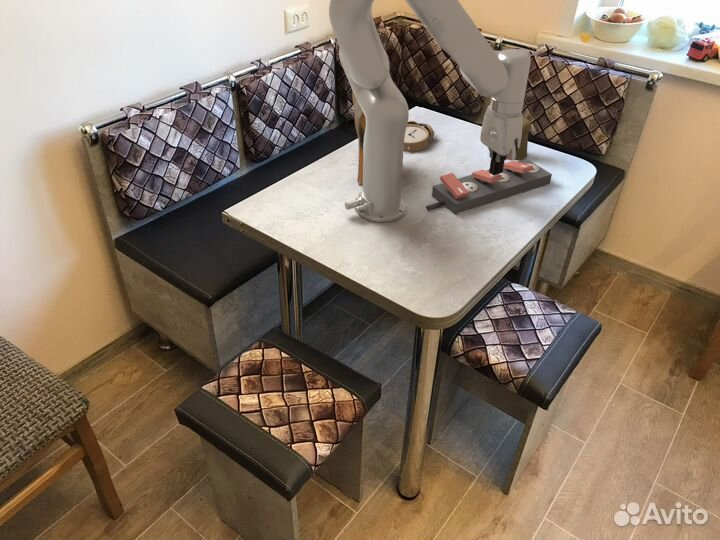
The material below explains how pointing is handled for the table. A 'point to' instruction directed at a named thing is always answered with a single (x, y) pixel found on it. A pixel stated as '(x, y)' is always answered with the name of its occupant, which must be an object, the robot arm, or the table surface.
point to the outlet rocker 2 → (486, 176)
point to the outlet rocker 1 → (454, 185)
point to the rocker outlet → (518, 167)
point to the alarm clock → (417, 136)
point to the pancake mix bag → (359, 134)
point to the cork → (523, 140)
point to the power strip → (490, 189)
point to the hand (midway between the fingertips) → (495, 172)
